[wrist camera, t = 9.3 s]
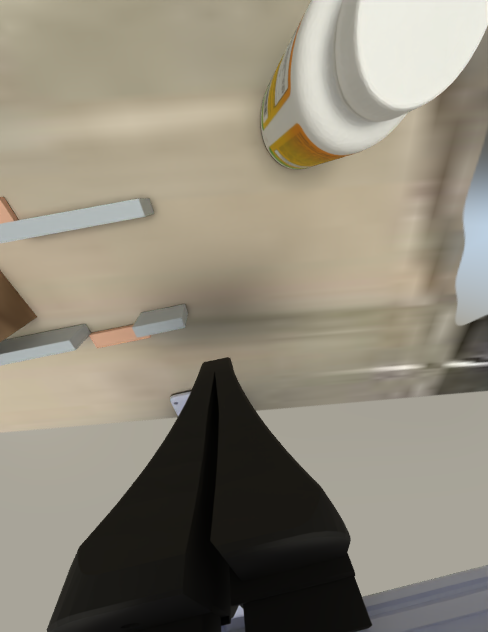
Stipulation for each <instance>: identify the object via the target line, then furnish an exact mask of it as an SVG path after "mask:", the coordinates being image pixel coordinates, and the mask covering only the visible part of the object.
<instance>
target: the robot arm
mask: <svg viewBox="0 0 488 632" xmlns="http://www.w3.org/2000/svg"><path fill="white" fill-rule="evenodd" d="M170 401H171V403H172V405H173V407H174V409H175V411H176V413H177V415H178V418H177V420H176V422H175V424H174V425H173V427H172V429H171V430H170V432H169V434H168V435H167V437H166V438H165V440H164V441H163V443H162V444H161V446H160V447H159V449H158V450H157V452H156V453H155V455H154V456H153V458H152V459H151V461H150V462H149V463H148V465H147V466H146V467H145V469H144V470H143V471H142V473H141V474H140V475H139V477H138V478H137V479H136V481H135V482H134V483H133V484H132V486H131V487H130V488H129V490H128V491H127V492H126V493H125V494H124V496H123V497H122V498H121V499H120V501H119V502H118V503H117V505H116V506H115V507H114V508H113V509H112V510H111V512H110V513H109V514H108V515H107V516H106V517H105V518H104V520H103V521H102V522H101V523H100V524H99V525H98V526H97V528H96V529H95V530H94V531H93V532H92V533H91V534H90V536H89V537H88V538H87V539H86V540H85V541H84V542H83V543H82V545H81V546H80V547H79V549H78V551H77V554H76V556H75V558H74V560H73V563H72V565H71V567H70V570H69V572H68V575H67V578H66V581H65V583H64V586H63V588H62V591H61V594H60V596H59V599H58V602H57V604H56V607H55V609H54V612H53V615H52V617H51V620H50V623H49V625H48V628H47V632H488V565H486V566H482V567H478V568H474V569H470V570H466V571H462V572H458V573H454V574H450V575H447V576H443V577H439V578H435V579H431V580H427V581H423V582H419V583H415V584H411V585H407V586H403V587H400V588H395V589H392V590H387V591H383V592H380V593H376V594H372V595H368V596H364V597H362V596H361V593H360V591H359V588H358V585H357V583H356V580H355V577H354V576H355V572H354V569H353V566H352V564H351V561H350V559H349V556H348V553H347V551H348V548H349V544H350V535H349V532H348V530H347V528H346V526H345V524H344V522H343V520H342V518H341V517H340V515H339V513H338V512H337V510H336V509H335V507H334V505H333V504H332V503H331V501H330V500H329V498H328V497H327V495H326V494H325V492H324V491H323V489H322V488H321V486H320V485H319V484H318V483H317V482H316V481H315V480H314V479H313V478H312V477H311V476H310V475H309V474H308V473H307V472H306V471H305V470H304V469H303V468H302V467H301V466H300V465H299V464H298V463H297V462H296V461H295V459H294V458H293V457H292V456H291V455H290V454H289V453H288V452H287V451H286V449H285V448H284V447H283V446H282V445H281V443H280V442H279V441H278V440H277V439H276V437H275V436H274V435H273V434H272V433H271V431H270V430H269V429H268V427H267V426H266V425H265V424H264V422H263V421H262V420H261V418H260V417H259V415H258V414H257V412H256V411H255V409H254V408H253V406H252V405H251V403H250V402H249V400H248V398H247V397H246V395H245V393H244V392H243V390H242V388H241V386H240V384H239V382H238V380H237V378H236V376H235V373H234V370H233V366H232V362H231V359H230V358H228V357H227V358H222V359H217V360H213V361H208V362H204V363H203V364H202V366H201V369H200V372H199V374H198V377H197V379H196V381H195V384H194V386H193V388H192V390H191V391H190V392H186V393H181V394H176V395H173V396H171V398H170Z"/></svg>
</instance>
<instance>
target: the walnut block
mask: <svg viewBox="0 0 488 632" xmlns="http://www.w3.org/2000/svg"><path fill="white" fill-rule="evenodd" d="M36 317H37V316H36V315H35V313H34V312H33V311H32V310H31V308H30V307H29V306H28V305H27V303H26V302H25V301H24V300H23V298H22V297H21V296H20V295H19V293H18V292H17V291H16V290H15V288H14V287H13V286H12V285H11V283H10V282H9V281H8V280H7V278H6V277H5V276H4V275H3V273H2V272H1V271H0V342H1V341H3V340H4V339H6V338H7V337H9V336H10V335H12V334H13V333H14V332H16V331H17V330H19V329H20V328H22V327H23V326H25V325H26V324H27V323H29V322H30V321H32V320H33V319H35V318H36Z"/></svg>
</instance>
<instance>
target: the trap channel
mask: <svg viewBox="0 0 488 632" xmlns="http://www.w3.org/2000/svg"><path fill="white" fill-rule="evenodd" d="M152 214H154V211H153V208H152V205H151V202H150V199H149V198H141V199H133V200H128V201H122V202H117V203H111V204H106V205H101V206H95V207H90V208H84V209H79V210H73V211H68V212H62V213H57V214H51V215H46V216H40V217H35V218H29V219H24V220H18V218H17V217H16V215H15V214H14V212H13V211H12V209H11V208H10V206H9V204H8V203H7V201H6V200H5V198H4V197H0V243H5V242H10V241H16V240H21V239H26V238H32V237H37V236H43V235H48V234H53V233H59V232H64V231H70V230H75V229H80V228H86V227H91V226H97V225H102V224H108V223H113V222H118V221H124V220H129V219H135V218H140V217H145V216H148V215H152ZM187 316H188V312H187V309H186V306H185V304H182V305H177V306H172V307H167V308H162V309H157V310H152V311H147V312H142V313H141V314H140V315H139V317H138V318H137V320H136V322H135V323H134V324H133V325H128V326H123V327H118V328H113V329H108V330H103V331H98V332H93V333H91V332H90V331H89V329H88V327H87V326H86V324H82V325H77V326H72V327H67V328H62V329H57V330H52V331H47V332H42V333H37V334H32V335H27V336H22V337H17V338H12V339H7V340H3V341H1V342H0V365H5V364H10V363H15V362H20V361H25V360H30V359H35V358H40V357H44V356H49V355H54V354H59V353H64V352H69V351H74V350H76V349H77V348H78V347H79V346H80V345H81V344H82V343H83V342H84V340H85V339H86V338H87V337H88V336H90V338H91V340H92V341H93V343H94V344H95V346H96V347H97V348H101V347H106V346H111V345H116V344H121V343H126V342H131V341H136V340H140V339H145V338H150V337H151V335H152V334H157V333H162V332H167V331H172V330H177V329H182V328H185V326H186V321H187Z"/></svg>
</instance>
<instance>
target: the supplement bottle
mask: <svg viewBox="0 0 488 632" xmlns="http://www.w3.org/2000/svg"><path fill="white" fill-rule="evenodd" d="M487 25H488V0H311V2H310V4H309V6H308V7H307V9H306V11H305V13H304V15H303V17H302V19H301V21H300V23H299V25H298V27H297V29H296V31H295V33H294V35H293V37H292V39H291V41H290V43H289V45H288V47H287V49H286V51H285V53H284V55H283V57H282V59H281V61H280V63H279V65H278V67H277V69H276V71H275V73H274V75H273V77H272V79H271V81H270V83H269V85H268V88H267V90H266V93H265V96H264V99H263V103H262V109H261V131H262V136H263V140H264V143H265V145H266V147H267V149H268V151H269V153H270V154H271V156H272V157H273V158H274V159H275V160H276V161H277V162H278V163H280V164H281V165H283V166H285V167H287V168H290V169H304V168H308V167H312V166H315V165H318V164H321V163H325V162H328V161H331V160H335V159H338V158H342V157H345V156H349V155H352V154H355V153H358V152H360V151H363V150H365V149H367V148H369V147H371V146H373V145H375V144H376V143H378V142H379V141H381V140H382V139H383V138H385V137H386V136H387V135H388V134H389V133H390V132H391V131H393V130H394V128H395V127H396V126H397V125H398V124H399V123H400V122H401V121H402V119H403V118H404V117H405V116H406V114H407V113H408V112H410V111H412V110H414V109H416V108H419V107H421V106H423V105H424V104H426V103H428V102H430V101H431V100H433V99H434V98H435V97H437V96H438V95H439V94H440V93H442V92H443V91H444V90H445V89H446V88H447V87H448V86H449V85H450V84H451V83H452V82H453V81H454V80H455V79H456V78H457V76H458V75H459V74H460V73H461V71H462V70H463V69H464V67H465V66H466V65H467V63H468V62H469V60H470V58H471V57H472V55H473V54H474V52H475V50H476V48H477V46H478V45H479V43H480V41H481V39H482V37H483V35H484V32H485V30H486V28H487Z"/></svg>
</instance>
